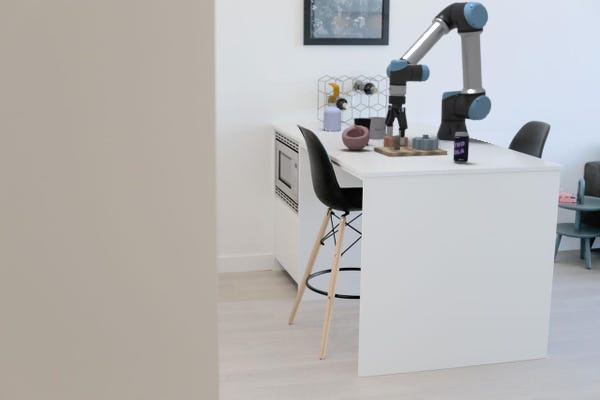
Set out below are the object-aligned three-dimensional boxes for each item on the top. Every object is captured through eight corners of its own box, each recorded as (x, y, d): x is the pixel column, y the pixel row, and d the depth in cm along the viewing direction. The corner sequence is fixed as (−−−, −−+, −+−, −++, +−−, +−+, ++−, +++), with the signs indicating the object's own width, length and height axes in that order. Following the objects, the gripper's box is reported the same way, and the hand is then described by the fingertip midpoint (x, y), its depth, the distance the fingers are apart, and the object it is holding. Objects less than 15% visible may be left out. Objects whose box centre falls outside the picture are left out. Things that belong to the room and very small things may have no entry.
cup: (369, 146, 382) (369, 119, 380) (352, 145, 384) (352, 119, 382) (371, 144, 390) (371, 118, 388) (354, 143, 391) (355, 117, 389)
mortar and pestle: (337, 151, 366) (338, 124, 364) (346, 147, 377) (347, 122, 375) (364, 152, 362) (365, 126, 359) (372, 149, 373) (373, 123, 370)
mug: (369, 139, 408) (370, 118, 406) (366, 137, 416) (367, 117, 414) (394, 139, 409) (395, 118, 407) (391, 137, 417) (391, 117, 416)
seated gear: (424, 146, 372) (424, 136, 371) (443, 149, 364) (444, 138, 363) (406, 148, 365) (407, 138, 364) (425, 151, 357) (426, 140, 356)
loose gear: (402, 145, 387) (402, 135, 386) (412, 148, 376) (412, 138, 375) (379, 146, 384) (379, 136, 383) (388, 149, 373) (389, 139, 372)
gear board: (428, 149, 375) (429, 132, 373) (447, 154, 358) (447, 137, 356) (373, 150, 367) (374, 133, 366) (389, 156, 351) (390, 138, 349)
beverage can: (451, 161, 338) (453, 131, 336) (465, 161, 339) (467, 131, 337) (455, 163, 333) (456, 133, 330) (469, 163, 333) (471, 133, 331)
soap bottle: (332, 129, 451) (332, 82, 447) (344, 130, 445) (345, 83, 440) (319, 130, 445) (320, 83, 441) (332, 131, 439) (332, 83, 434)
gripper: (378, 93, 386) (377, 139, 390) (400, 97, 363) (398, 146, 367) (394, 93, 388) (392, 139, 392) (416, 97, 365) (414, 146, 369)
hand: (395, 143), depth 379 cm, fingers open, 13 cm apart
